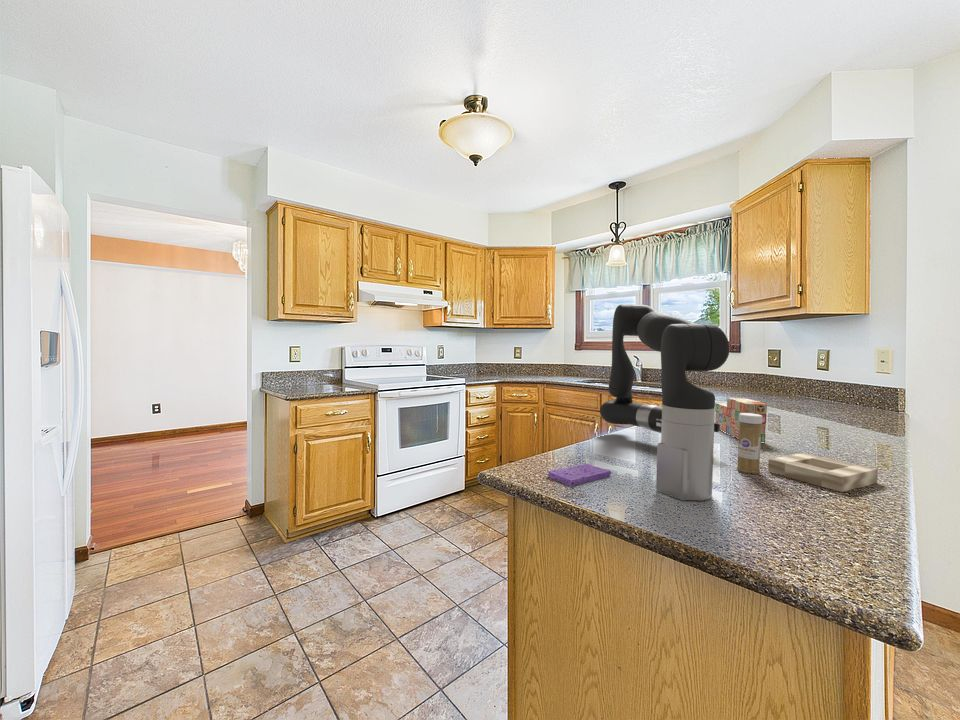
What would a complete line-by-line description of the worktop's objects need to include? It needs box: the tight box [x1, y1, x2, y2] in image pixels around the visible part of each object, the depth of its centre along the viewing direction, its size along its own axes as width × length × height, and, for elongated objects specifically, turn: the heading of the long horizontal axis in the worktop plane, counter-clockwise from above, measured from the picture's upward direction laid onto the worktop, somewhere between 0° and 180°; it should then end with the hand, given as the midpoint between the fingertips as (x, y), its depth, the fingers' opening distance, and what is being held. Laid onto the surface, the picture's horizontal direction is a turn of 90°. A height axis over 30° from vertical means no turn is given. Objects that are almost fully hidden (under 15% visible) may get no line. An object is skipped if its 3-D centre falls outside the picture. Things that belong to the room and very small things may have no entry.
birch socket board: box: [767, 452, 879, 493], centre depth 90 cm, size 14×14×3 cm
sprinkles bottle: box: [736, 413, 762, 474], centre depth 94 cm, size 5×5×14 cm
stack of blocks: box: [714, 397, 768, 443], centre depth 133 cm, size 21×6×12 cm, turn 171°
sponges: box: [547, 463, 612, 487], centre depth 89 cm, size 7×13×2 cm, turn 123°
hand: (707, 429), depth 103 cm, fingers open, 8 cm apart
